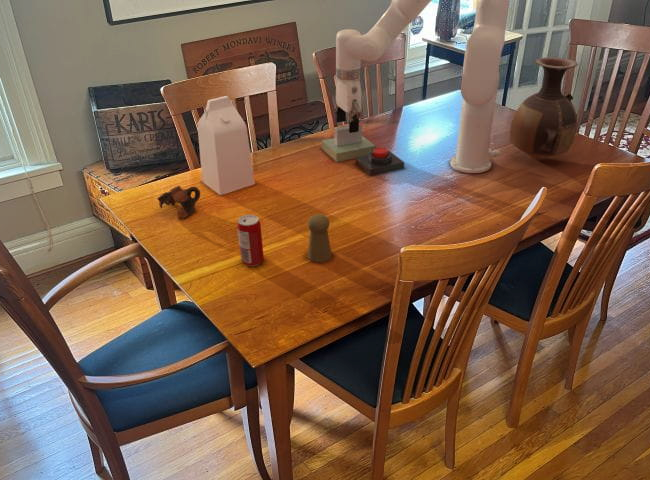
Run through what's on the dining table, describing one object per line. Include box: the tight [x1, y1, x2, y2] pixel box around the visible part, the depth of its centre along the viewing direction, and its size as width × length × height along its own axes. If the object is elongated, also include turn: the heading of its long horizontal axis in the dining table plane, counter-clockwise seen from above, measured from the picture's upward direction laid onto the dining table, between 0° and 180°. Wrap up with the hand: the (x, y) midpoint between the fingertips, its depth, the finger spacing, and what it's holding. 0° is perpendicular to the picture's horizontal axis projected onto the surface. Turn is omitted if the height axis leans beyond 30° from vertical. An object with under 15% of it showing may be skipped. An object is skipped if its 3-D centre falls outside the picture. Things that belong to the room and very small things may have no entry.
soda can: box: [236, 214, 265, 267], centre depth 150 cm, size 6×6×12 cm
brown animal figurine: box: [157, 185, 201, 220], centre depth 175 cm, size 12×10×8 cm
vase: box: [509, 56, 579, 160], centre depth 189 cm, size 23×19×30 cm
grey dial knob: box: [333, 122, 363, 146], centre depth 202 cm, size 9×2×6 cm, turn 113°
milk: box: [197, 95, 256, 196], centre depth 181 cm, size 12×12×26 cm
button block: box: [355, 150, 405, 177], centre depth 195 cm, size 12×10×4 cm
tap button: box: [373, 147, 388, 158], centre depth 193 cm, size 4×4×2 cm
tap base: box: [321, 135, 376, 163], centre depth 205 cm, size 14×13×3 cm
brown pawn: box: [307, 213, 332, 263], centre depth 151 cm, size 6×6×11 cm
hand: (347, 126), depth 201 cm, fingers open, 9 cm apart
